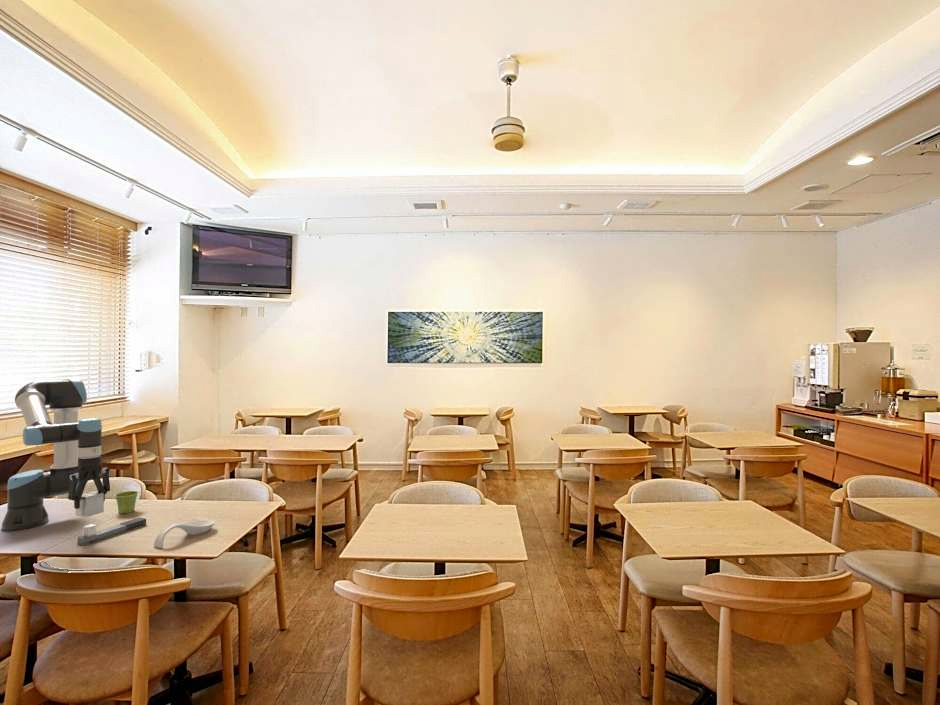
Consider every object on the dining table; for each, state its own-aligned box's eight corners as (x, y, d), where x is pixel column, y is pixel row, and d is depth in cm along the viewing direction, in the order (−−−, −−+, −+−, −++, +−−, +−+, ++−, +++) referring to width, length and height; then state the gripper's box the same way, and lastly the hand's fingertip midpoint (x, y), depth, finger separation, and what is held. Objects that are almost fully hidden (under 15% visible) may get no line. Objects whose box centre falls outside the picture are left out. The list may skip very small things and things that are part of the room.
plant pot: (143, 509, 227) (143, 491, 227) (124, 515, 218) (124, 497, 218) (128, 507, 229) (128, 490, 229) (109, 513, 220) (109, 495, 220)
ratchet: (85, 545, 184) (85, 529, 184) (77, 543, 186) (77, 527, 186) (146, 524, 206) (146, 510, 206) (138, 523, 208) (138, 508, 208)
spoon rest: (201, 525, 206) (201, 509, 206) (220, 529, 202) (220, 513, 202) (147, 546, 184) (147, 528, 184) (168, 551, 179) (168, 532, 179)
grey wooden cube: (75, 515, 186) (75, 495, 186) (93, 510, 192) (93, 491, 192) (85, 517, 183) (85, 497, 183) (103, 512, 189) (103, 492, 189)
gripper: (67, 462, 177) (67, 522, 177) (121, 452, 195) (121, 506, 195) (55, 461, 180) (55, 519, 180) (110, 451, 198) (110, 504, 198)
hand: (89, 513), depth 187 cm, fingers closed on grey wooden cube, 6 cm apart
